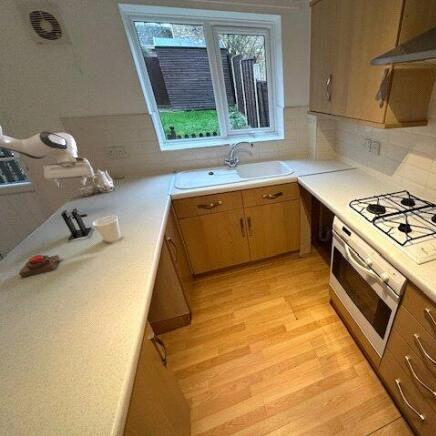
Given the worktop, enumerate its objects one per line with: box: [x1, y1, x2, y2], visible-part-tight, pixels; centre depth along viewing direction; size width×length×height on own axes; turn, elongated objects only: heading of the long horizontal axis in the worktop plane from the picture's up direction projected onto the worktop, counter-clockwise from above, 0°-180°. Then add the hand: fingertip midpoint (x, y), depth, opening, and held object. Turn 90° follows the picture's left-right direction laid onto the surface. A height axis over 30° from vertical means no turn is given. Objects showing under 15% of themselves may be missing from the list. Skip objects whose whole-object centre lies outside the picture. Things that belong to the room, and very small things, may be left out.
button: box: [28, 254, 44, 264], centre depth 98 cm, size 4×4×2 cm
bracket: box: [60, 208, 93, 241], centre depth 119 cm, size 10×8×14 cm
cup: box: [91, 215, 122, 243], centre depth 115 cm, size 10×10×11 cm
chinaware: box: [78, 169, 116, 197], centre depth 176 cm, size 28×17×17 cm, turn 178°
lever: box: [66, 210, 88, 220], centre depth 121 cm, size 12×6×2 cm
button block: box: [18, 254, 60, 279], centre depth 99 cm, size 10×8×4 cm
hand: (71, 185), depth 128 cm, fingers open, 8 cm apart
